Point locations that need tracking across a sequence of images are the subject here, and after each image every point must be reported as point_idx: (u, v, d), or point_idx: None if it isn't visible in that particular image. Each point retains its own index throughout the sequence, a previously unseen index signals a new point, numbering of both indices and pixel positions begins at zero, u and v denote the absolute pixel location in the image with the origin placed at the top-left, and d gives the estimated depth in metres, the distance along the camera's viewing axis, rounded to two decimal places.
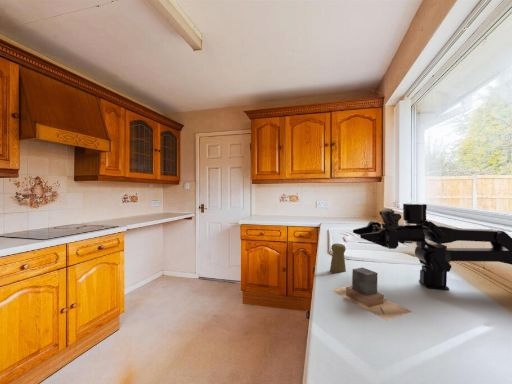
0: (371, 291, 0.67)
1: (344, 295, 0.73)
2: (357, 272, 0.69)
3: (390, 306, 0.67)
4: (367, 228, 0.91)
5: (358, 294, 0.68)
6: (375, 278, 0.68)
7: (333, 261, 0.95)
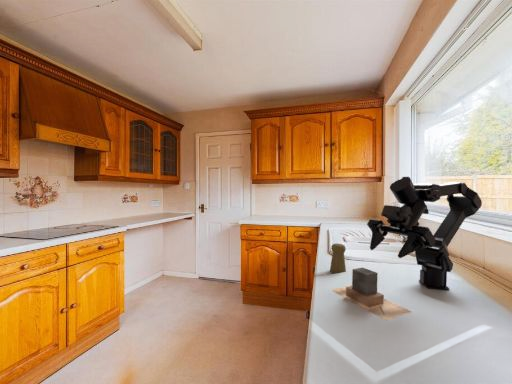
0: (371, 291, 0.67)
1: (344, 295, 0.73)
2: (357, 272, 0.69)
3: (390, 306, 0.67)
4: (377, 234, 0.79)
5: (358, 294, 0.68)
6: (375, 278, 0.68)
7: (333, 261, 0.95)
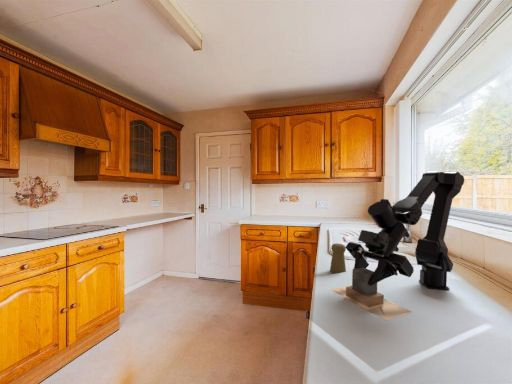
0: (371, 291, 0.67)
1: (344, 295, 0.73)
2: (357, 272, 0.69)
3: (390, 306, 0.67)
4: (360, 261, 0.73)
5: (358, 294, 0.68)
6: None
7: (333, 261, 0.95)
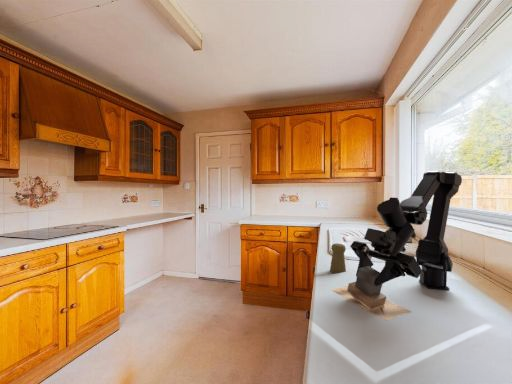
0: (375, 292, 0.66)
1: (344, 295, 0.73)
2: (364, 272, 0.67)
3: (390, 306, 0.67)
4: (364, 260, 0.71)
5: (362, 294, 0.67)
6: None
7: (333, 261, 0.95)
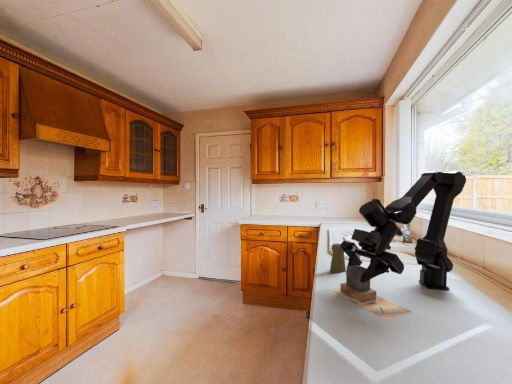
0: (364, 287, 0.70)
1: (344, 295, 0.73)
2: (351, 269, 0.72)
3: (390, 306, 0.67)
4: (353, 259, 0.75)
5: (352, 291, 0.70)
6: None
7: (333, 261, 0.95)
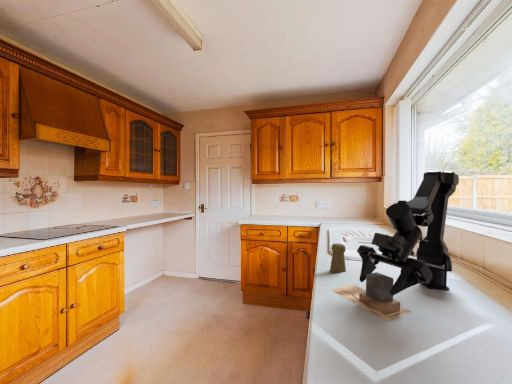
0: (387, 298, 0.63)
1: (344, 295, 0.73)
2: (371, 277, 0.65)
3: None
4: (367, 264, 0.70)
5: (373, 301, 0.64)
6: (391, 284, 0.64)
7: (333, 261, 0.95)
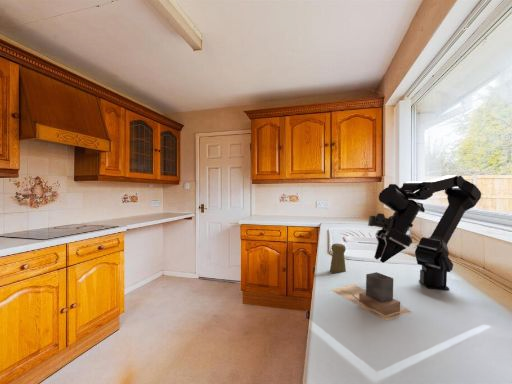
0: (387, 298, 0.63)
1: (344, 295, 0.73)
2: (371, 277, 0.65)
3: None
4: (380, 243, 0.83)
5: (373, 301, 0.64)
6: (391, 284, 0.64)
7: (333, 261, 0.95)
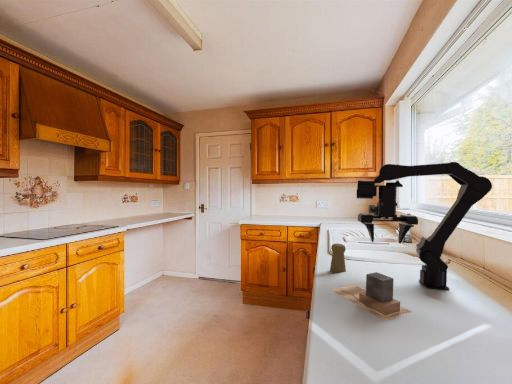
0: (387, 298, 0.63)
1: (344, 295, 0.73)
2: (371, 277, 0.65)
3: None
4: (399, 228, 0.90)
5: (373, 301, 0.64)
6: (391, 284, 0.64)
7: (333, 261, 0.95)
